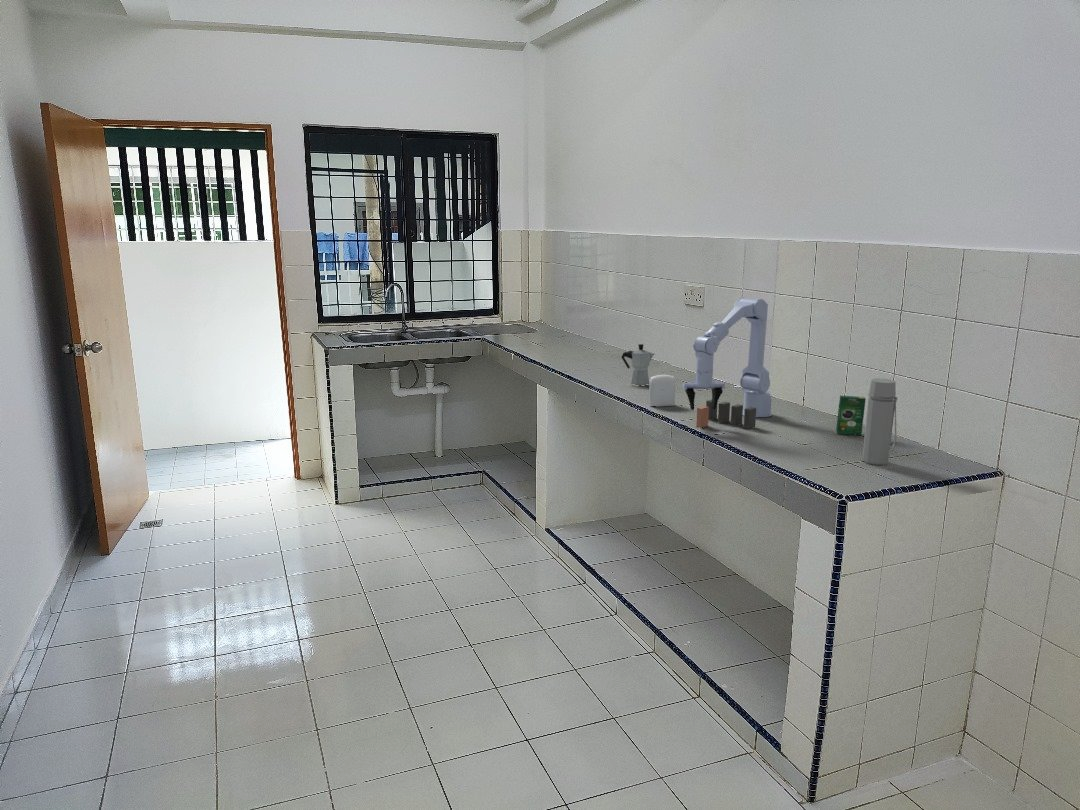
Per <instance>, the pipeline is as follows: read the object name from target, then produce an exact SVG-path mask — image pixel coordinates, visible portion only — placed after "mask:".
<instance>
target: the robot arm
mask: <svg viewBox="0 0 1080 810" xmlns="http://www.w3.org/2000/svg"><path fill="white" fill-rule="evenodd" d="M733 304H734V305H733V308H732V310H731V311H730V312H729V313H728V314H727V315H726V316H725V318H724V319H723V320H722V321H721V322H719V321H717V322H715V323H713V325H712V326H711V327H710V329H708V331H706V332H705V333H704V334H703V335H701V336H698V337H696V339H695V340H694V344H692V347H693V350H694V353H695V357H696V363H695V364H696V367H695V381H693V382H685V383H682V389H683V390H684V391H685V393H686V396H687V398H688V401H689V405H690V406H689V407H690V410H692V411H694V410H695V398H696V391H695V390H702V389H703V390H707V389H709V390H710V389H711V400H712V409H715V408H716V404H717V402H719V400H720V397H721V396H722V394H723V390H725V388H726V382H723V381H722V382H721V381H720V382H719V381H713V378H714V376H713V375H714V374H713V373H714V355H715V353H717V351H718V348H719V346H720V344H721V342H722V341H723V340H724V339H725V338H726V337H727V336H728V335H729V332H730V328H732V327H733V326H734V325H736V323H738V322H739V321H740V320H741V319H742V318H745V319H746V320H747V321H748V322H749V323H750V333H749V336H750V337H749V347H748V360H747V361H748V362H747V366H746V367H744V368H743V369H742V371H741V376H740V379H739V385H740V387H741V388H742V392H744V393H743V394H744V395H743V416H744V412H745V409H746V408H749V407H754V408H756V418H768V417H770V416H771V417H772V414H771V412H772V395H771V393H770V392H769V388H770V386H771V381H770V379H771V378H770V371H768V370H767V369H766V368H765V365H764V361H765V348H766V347H765V346H766V333H767V321H768V311H769V310H768V307H769V304H768V303H767V302H766V300H765V299H763V298H748V297H742V296H741V297H739V298H738V299H737V300H736V301H735V302H734V303H733ZM717 405H718V404H717Z"/></svg>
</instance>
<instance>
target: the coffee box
mask: <svg viewBox="0 0 1080 810" xmlns="http://www.w3.org/2000/svg"><path fill="white" fill-rule="evenodd" d="M865 407H866V397H865V396H855V395H854V396H853V395H839V401H838V411H837V418H836V419H837V420H836V426H835V427H836V430H835V433H836V432H837V433H836V435H843V434H844V435H847V434H856V435H855V436H862V435H863V434H862V433H863V424H864V416H865Z"/></svg>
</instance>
